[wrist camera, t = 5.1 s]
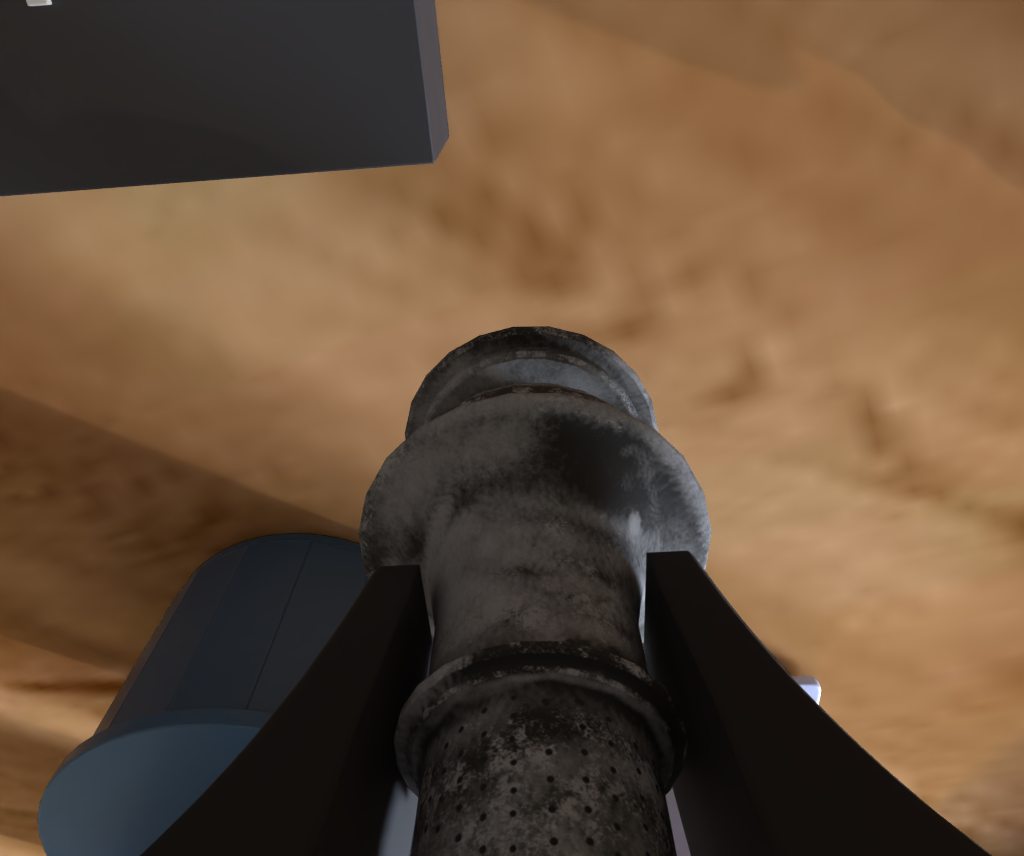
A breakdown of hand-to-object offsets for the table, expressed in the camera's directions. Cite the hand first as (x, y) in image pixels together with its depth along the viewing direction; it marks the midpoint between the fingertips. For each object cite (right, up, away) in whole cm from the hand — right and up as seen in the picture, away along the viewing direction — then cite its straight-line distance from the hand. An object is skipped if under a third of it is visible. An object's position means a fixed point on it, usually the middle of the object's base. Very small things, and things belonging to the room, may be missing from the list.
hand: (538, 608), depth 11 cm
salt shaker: (0, +3, +4) cm, 5 cm away
